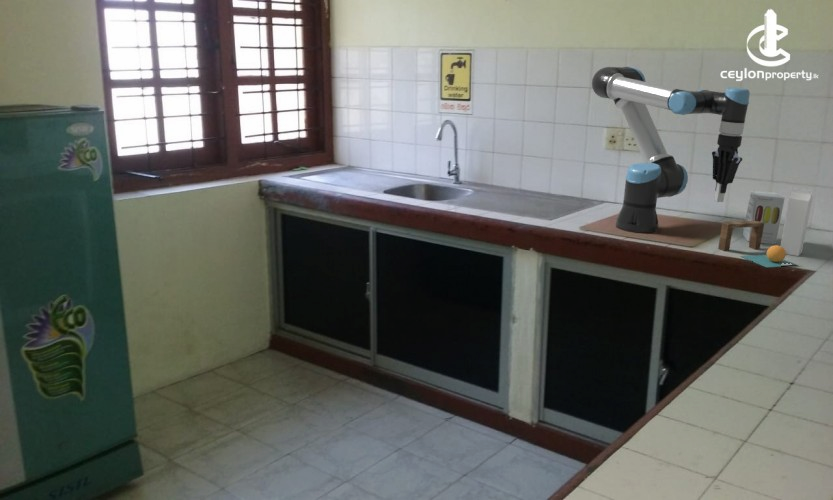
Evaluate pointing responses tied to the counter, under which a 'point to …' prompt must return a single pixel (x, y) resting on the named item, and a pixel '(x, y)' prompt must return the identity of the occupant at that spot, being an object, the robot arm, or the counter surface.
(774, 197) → the supplement box
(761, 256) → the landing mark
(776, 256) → the ball
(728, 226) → the bridge
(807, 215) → the milk
